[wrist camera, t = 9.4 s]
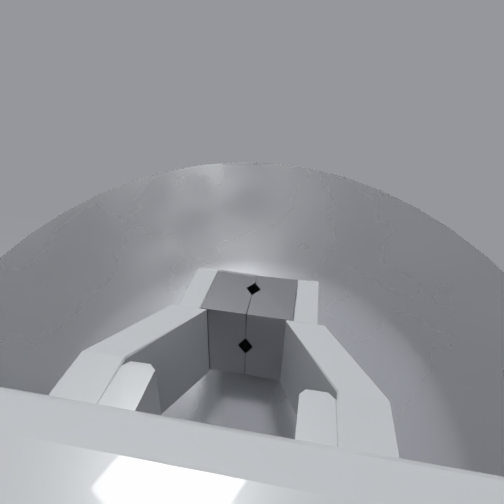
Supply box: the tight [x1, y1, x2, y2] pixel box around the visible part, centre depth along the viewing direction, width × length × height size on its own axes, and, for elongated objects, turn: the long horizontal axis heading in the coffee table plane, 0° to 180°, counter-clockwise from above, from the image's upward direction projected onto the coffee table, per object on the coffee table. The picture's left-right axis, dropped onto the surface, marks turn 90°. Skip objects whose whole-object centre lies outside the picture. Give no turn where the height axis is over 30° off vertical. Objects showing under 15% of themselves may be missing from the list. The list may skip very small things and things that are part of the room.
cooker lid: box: [0, 163, 504, 477], centre depth 9 cm, size 18×24×1 cm
